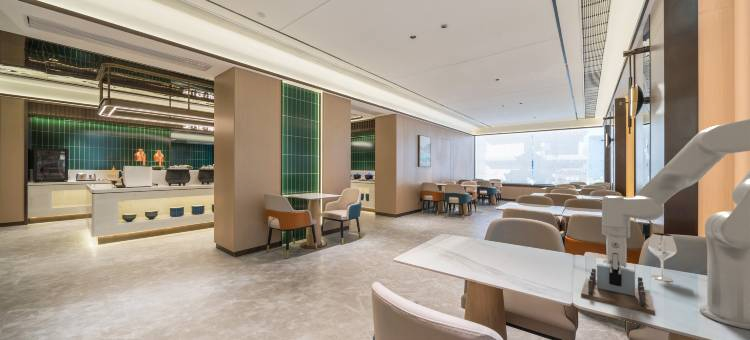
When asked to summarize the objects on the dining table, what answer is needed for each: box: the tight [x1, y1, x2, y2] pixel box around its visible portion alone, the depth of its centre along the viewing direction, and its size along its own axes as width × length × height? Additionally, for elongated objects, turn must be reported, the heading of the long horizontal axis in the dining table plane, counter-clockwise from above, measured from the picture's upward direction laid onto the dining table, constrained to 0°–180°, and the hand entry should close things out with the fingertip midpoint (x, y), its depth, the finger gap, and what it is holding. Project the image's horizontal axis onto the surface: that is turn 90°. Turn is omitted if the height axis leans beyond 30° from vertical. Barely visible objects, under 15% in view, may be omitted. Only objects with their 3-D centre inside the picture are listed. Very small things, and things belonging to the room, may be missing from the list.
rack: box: [580, 268, 655, 315], centre depth 98 cm, size 18×19×6 cm
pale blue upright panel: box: [596, 263, 636, 296], centre depth 98 cm, size 10×2×8 cm, turn 49°
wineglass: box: [647, 232, 678, 282], centre depth 114 cm, size 8×8×18 cm
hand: (615, 283), depth 98 cm, fingers closed on pale blue upright panel, 2 cm apart
